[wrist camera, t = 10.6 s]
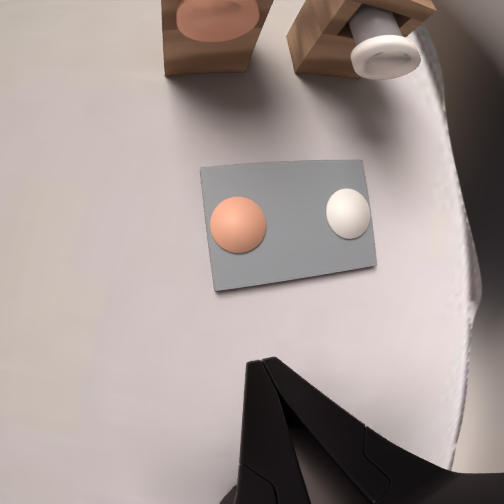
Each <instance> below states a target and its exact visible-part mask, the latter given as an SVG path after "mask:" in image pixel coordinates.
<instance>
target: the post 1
mask: <svg viewBox="0 0 504 504" xmlns="http://www.w3.org/2000/svg"><path fill="white" fill-rule="evenodd" d="M180 1H181V0H161V5H162V33H163V53H164V69H165V76H172V75H183V74H197V73H215V72H245V71H246V68H247V65H248V63H249V60H250V58H251V55H252V52H253V50H254V47H255V45H256V42H257V40H258V37H259V35H260V32H261V30H262V27H263V25H264V22H265V20H266V17H267V15H268V13H269V10H270V8H271V5H272V3H273V1H274V0H256V1H257V5H258V9H259V20H258V22H257V24H256V25H255V27H254V28H253V29H251V30H250V31H249V32H247V33H246V34H244V35H242V36H240V37H238V38H235V39H231V40H227V41H221V42H202V41H197V40H193V39H191V38H188V37H187V36H185V35H184V34H182V33H181V32H180V31H179V29H178V27H177V19H176V11H177V7H178V4H179V3H180Z"/></svg>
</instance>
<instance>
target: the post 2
mask: <svg viewBox="0 0 504 504" xmlns="http://www.w3.org/2000/svg"><path fill="white" fill-rule="evenodd" d="M362 3H363V4H367V5H371V6H374V7H378V8H381V9H385V10H388V11H391V12H392V13H393V16H394V18H395V20H396V22H397V25H398V27H399V29H400V31H401V34H402V36H403V37H407V36H408V35H409V34H410V33H411V32H412V31H414V30H415V29H416V28H417V27H418V26H419V25H420V24H422V23H423V22H424V21H425V20H426V19H428V17H430V16H431V15H432V14H433V13H435V12H436V9H435V7H434V5H433V3H432V1H431V0H306V1H305V3H304V5H303V6H302V8H301V10H300V12H299V14H298V15H297V17H296V19H295V21H294V23H293V25H292V27H291V28H290V30H289V32H288V34H287V36H286V37H287V41H288V45H289V49H290V54H291V58H292V62H293V67H294V71H295V73H304V74H317V75H328V76H338V77H347V78H355V79H360V78H361V76H359V75H358V74H357V73H356V72H355V71H354V68H353V64H352V61H351V53H352V51H353V49H354V48H355V47H356V44H355V41H354V38H353V35H352V32H351V30H350V27H349V24H348V20H349V19H350V18H351V17H352V15H353V14H354V13H355V12H356V10H357V9H358V8H359V7H360V6H361V4H362Z"/></svg>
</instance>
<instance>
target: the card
mask: <svg viewBox="0 0 504 504" xmlns="http://www.w3.org/2000/svg"><path fill="white" fill-rule="evenodd" d="M200 175H201V185H202V194H203V203H204V212H205V221H206V230H207V238H208V246H209V254H210V262H211V270H212V277H213V285H214V290H215V291H220V290H227V289H234V288H241V287H247V286H254V285H261V284H267V283H274V282H280V281H287V280H293V279H299V278H305V277H311V276H317V275H323V274H329V273H335V272H341V271H347V270H353V269H358V268H364V267H370V266H375V265H377V259H376V250H375V241H374V232H373V224H372V217H371V210H370V203H369V196H368V190H367V184H366V178H365V172H364V167H363V161H362V160H311V161H284V162H265V163H249V164H235V165H223V166H211V167H201V168H200Z"/></svg>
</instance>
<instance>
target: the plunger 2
mask: <svg viewBox="0 0 504 504" xmlns="http://www.w3.org/2000/svg"><path fill="white" fill-rule="evenodd" d="M348 24H349V27H350V30H351V32H352V35H353V38H354V41H355V44H356V47H355V48H354V49H353V51H352V53H351V61H352V64H353V68H354V71H355V72H356V73H357V74H358V75H359V76H361V77H364V78H367V79H373V80H386V79H393V78H397V77H401V76H403V75H406V74H408V73H410V72H412V71H413V70H415V69H416V68H417V67H418V66H419V64H420V61H421V58H420V55H419V52H418V50H417V47H416V45H415V43H414V42H413V41H411V40H410V39H408V38H405V37H403V36H402V34H401V31H400V29H399V27H398V25H397V22H396V20H395V18H394V16H393V13H392V12H391V11H388V10H385V9H381V8H378V7H374V6H371V5H367V4H363V3H362V4H361V6H360V7H359V8H358V9H357V10H356V12H355V13H354V14H353V15H352V17H351V18H350V19H349V20H348Z"/></svg>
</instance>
